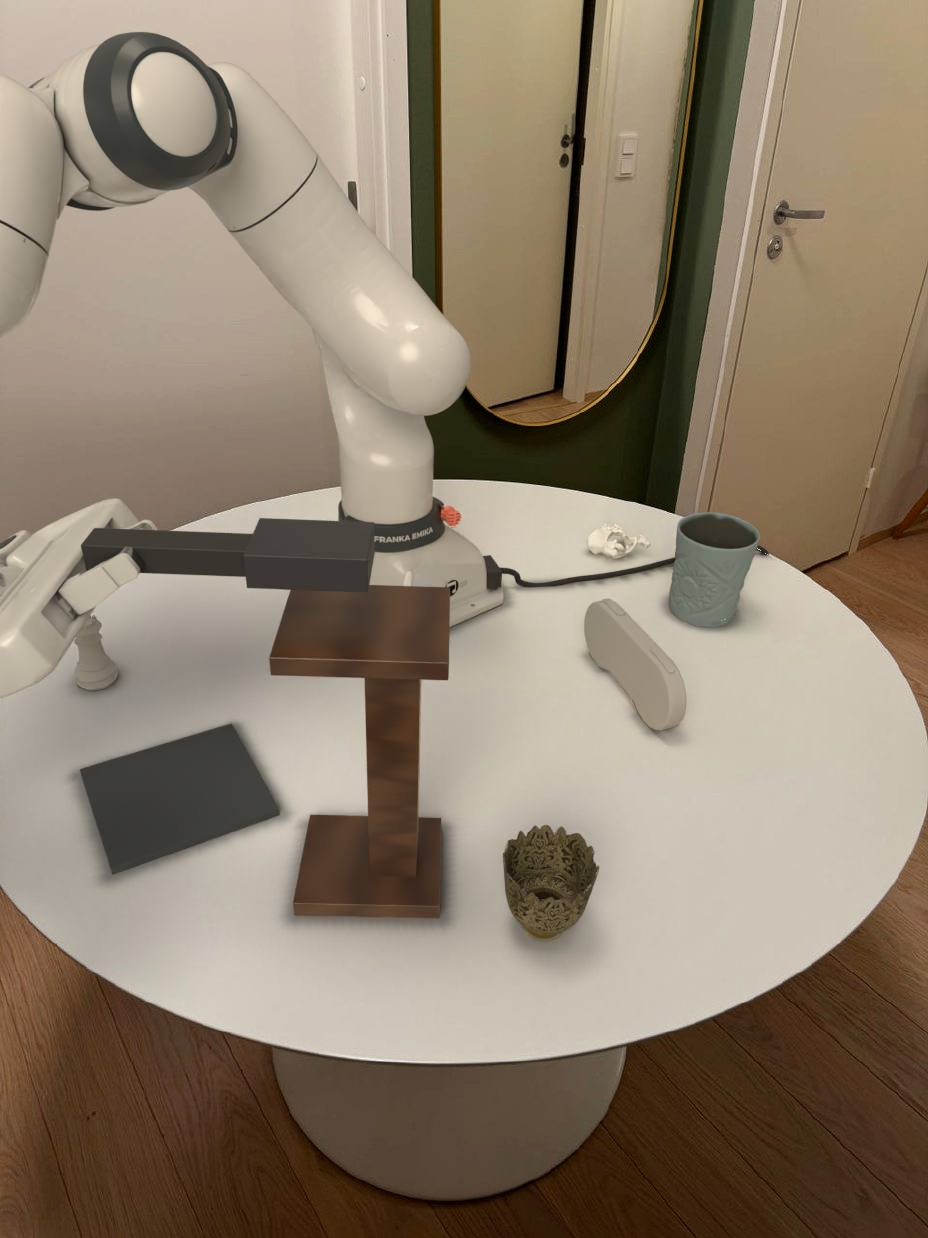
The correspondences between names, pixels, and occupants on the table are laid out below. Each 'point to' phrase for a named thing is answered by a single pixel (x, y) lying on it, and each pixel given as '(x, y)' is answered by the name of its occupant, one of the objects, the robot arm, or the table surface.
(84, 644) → the rook chess piece
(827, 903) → the table surface
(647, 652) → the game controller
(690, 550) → the teal embossed pot
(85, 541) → the block with square shaft
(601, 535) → the pelvis model
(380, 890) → the stand
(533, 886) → the cup
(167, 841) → the mat
